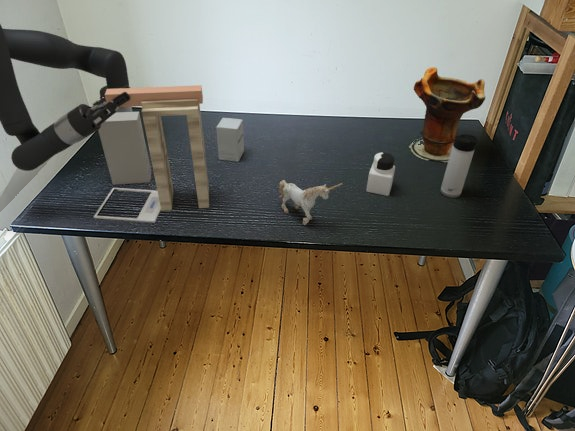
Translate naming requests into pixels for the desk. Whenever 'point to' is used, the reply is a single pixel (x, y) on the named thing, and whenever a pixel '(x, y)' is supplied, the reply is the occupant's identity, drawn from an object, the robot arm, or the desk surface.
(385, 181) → the medicine bottle
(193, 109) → the bridge
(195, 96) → the bar
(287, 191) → the unicorn figurine
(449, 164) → the travel mug
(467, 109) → the decorative vase
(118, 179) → the post
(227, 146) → the supplement box
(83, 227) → the desk surface
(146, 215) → the photo frame
